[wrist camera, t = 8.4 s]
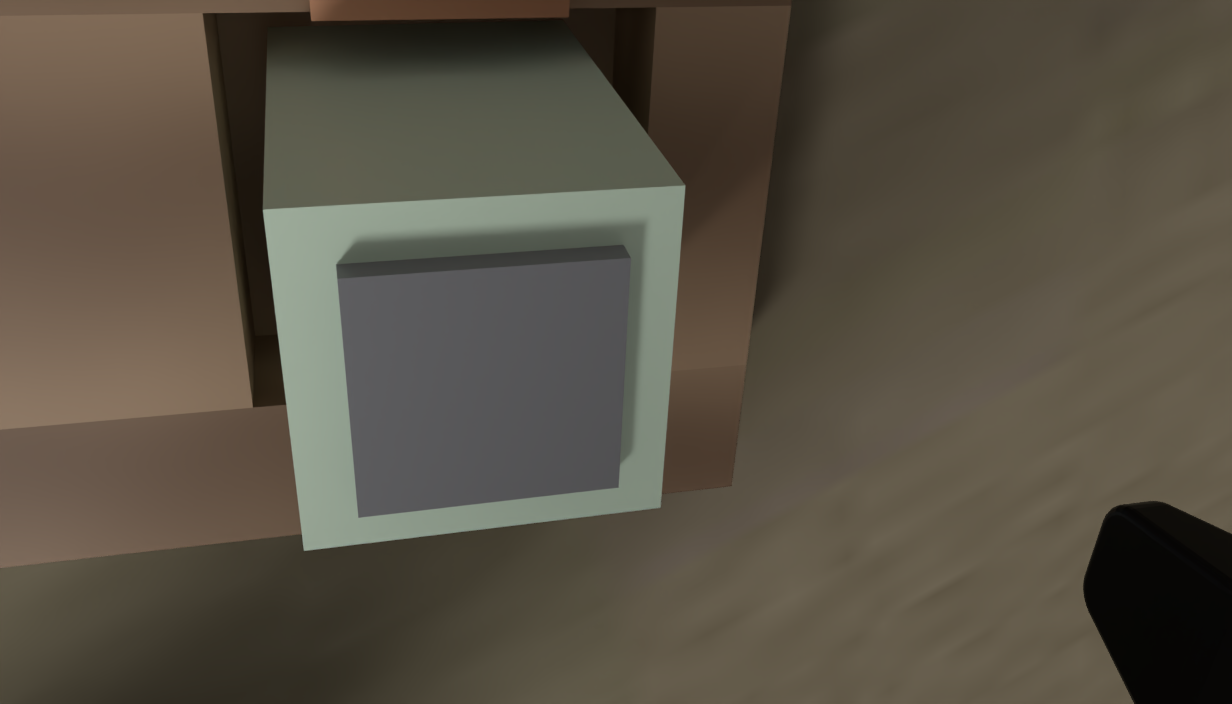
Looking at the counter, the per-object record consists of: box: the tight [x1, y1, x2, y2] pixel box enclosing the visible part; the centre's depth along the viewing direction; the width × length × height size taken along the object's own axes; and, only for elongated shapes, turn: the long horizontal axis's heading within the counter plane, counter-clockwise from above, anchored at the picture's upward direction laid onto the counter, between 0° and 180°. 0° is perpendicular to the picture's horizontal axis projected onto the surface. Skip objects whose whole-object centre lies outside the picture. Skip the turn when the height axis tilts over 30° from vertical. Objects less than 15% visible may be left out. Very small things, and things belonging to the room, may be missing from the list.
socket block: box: [0, 0, 792, 568], centre depth 15 cm, size 10×18×3 cm, turn 87°
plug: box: [263, 20, 685, 551], centre depth 14 cm, size 4×4×6 cm
